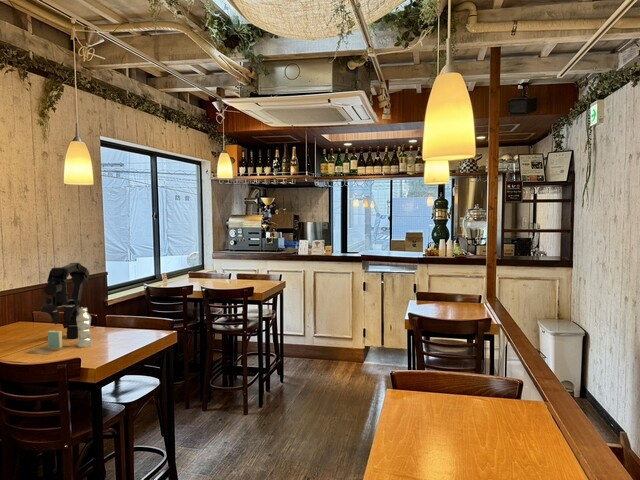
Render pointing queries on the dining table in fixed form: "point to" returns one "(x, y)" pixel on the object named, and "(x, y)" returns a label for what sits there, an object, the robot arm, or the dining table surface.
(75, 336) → the robot arm
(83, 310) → the plastic bottle
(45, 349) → the board
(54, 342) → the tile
